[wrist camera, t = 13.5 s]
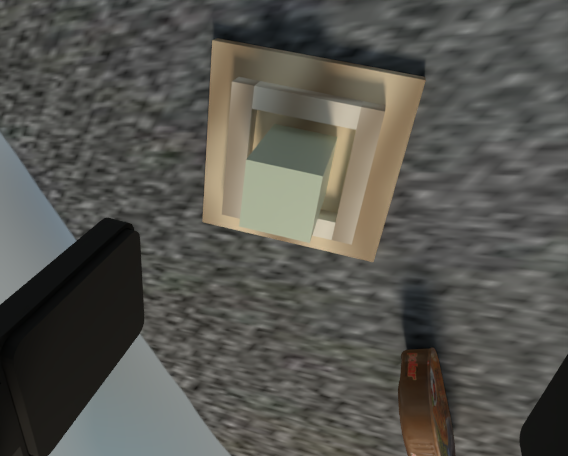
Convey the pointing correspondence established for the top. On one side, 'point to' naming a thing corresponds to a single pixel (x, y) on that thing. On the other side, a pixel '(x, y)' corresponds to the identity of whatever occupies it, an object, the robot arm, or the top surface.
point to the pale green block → (287, 182)
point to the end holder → (316, 118)
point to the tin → (424, 405)
